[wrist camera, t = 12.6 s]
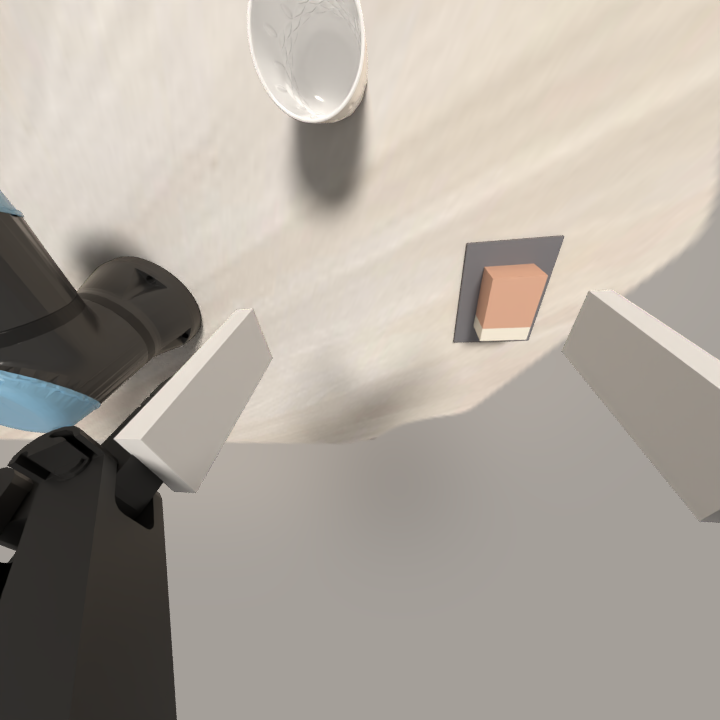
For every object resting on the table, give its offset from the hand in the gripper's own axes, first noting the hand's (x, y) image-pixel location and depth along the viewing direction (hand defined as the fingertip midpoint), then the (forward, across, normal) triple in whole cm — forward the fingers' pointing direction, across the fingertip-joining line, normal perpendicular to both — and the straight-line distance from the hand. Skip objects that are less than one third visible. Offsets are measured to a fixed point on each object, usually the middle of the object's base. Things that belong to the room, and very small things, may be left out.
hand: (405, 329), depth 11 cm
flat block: (+26, +14, -12) cm, 32 cm away
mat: (+27, +14, -12) cm, 32 cm away
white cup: (+27, -6, +12) cm, 30 cm away
